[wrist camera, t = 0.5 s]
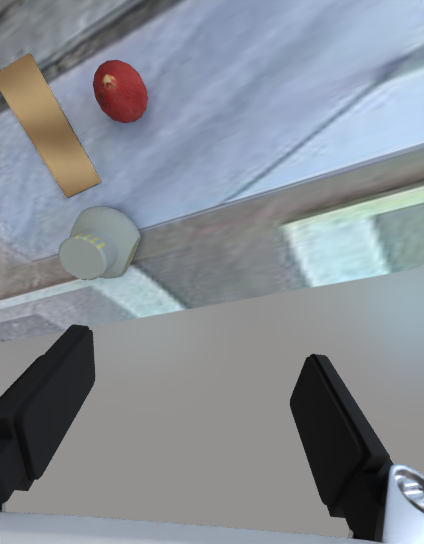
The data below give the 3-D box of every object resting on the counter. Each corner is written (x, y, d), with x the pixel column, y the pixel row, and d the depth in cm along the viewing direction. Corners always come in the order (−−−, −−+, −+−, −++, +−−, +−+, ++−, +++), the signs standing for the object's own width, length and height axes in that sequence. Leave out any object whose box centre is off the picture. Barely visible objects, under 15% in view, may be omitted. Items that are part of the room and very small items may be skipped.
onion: (126, 136, 32) (100, 125, 25) (100, 91, 30) (64, 64, 23) (161, 113, 31) (145, 95, 24) (137, 65, 29) (111, 28, 22)
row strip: (-7, 77, 30) (-10, 76, 30) (30, 54, 29) (29, 53, 29) (68, 198, 36) (66, 198, 35) (101, 181, 35) (100, 182, 34)
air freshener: (98, 195, 35) (58, 202, 26) (149, 220, 37) (128, 236, 28) (79, 255, 39) (38, 280, 30) (126, 276, 41) (100, 306, 31)
